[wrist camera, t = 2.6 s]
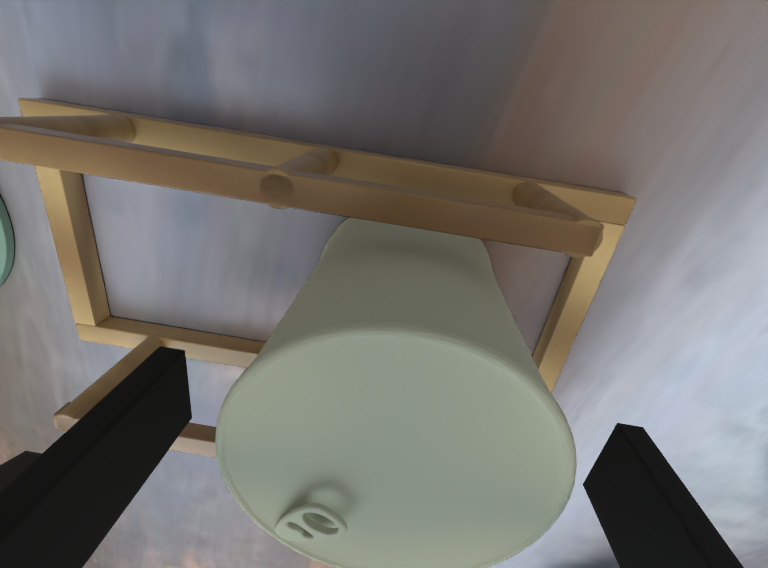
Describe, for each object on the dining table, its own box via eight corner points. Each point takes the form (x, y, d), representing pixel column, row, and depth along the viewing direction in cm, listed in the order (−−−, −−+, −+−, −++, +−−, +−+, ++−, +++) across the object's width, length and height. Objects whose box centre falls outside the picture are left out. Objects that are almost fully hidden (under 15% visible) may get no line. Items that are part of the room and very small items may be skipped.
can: (283, 274, 20) (129, 468, 9) (414, 157, 17) (410, 242, 6) (395, 381, 23) (375, 631, 12) (527, 295, 20) (665, 528, 9)
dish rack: (41, 98, 17) (-185, 93, 11) (624, 193, 17) (751, 246, 10) (95, 329, 23) (-33, 417, 16) (534, 403, 23) (581, 522, 16)
